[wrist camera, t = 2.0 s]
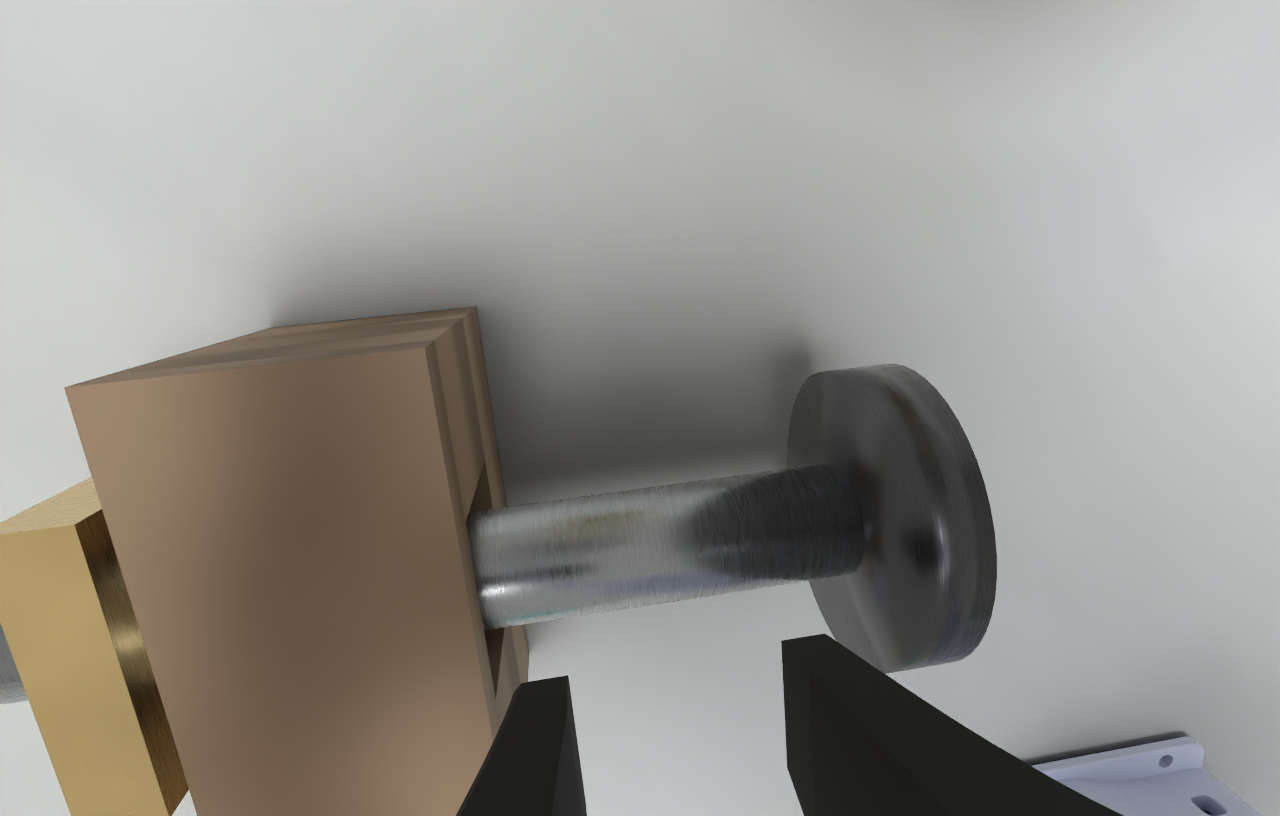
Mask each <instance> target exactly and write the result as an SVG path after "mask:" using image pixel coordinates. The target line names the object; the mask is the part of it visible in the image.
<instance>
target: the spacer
mask: <svg viewBox="0 0 1280 816" xmlns="http://www.w3.org/2000/svg"><path fill="white" fill-rule="evenodd" d="M0 623H1V626H2V629H3V631H4V634H5V637H6V640H7V642H8V645H9V648H10V650H11V653H12V656H13V659H14V661H15V664H16V667H17V670H18V672H19V675H20V678H21V680H22V683H23V686H24V689H25V691H26V694H27V697H28V699H29V702H30V705H31V708H32V710H33V713H34V716H35V719H36V721H37V724H38V727H39V729H40V732H41V735H42V738H43V740H44V743H45V746H46V748H47V751H48V754H49V757H50V759H51V762H52V765H53V767H54V770H55V773H56V776H57V778H58V781H59V784H60V787H61V789H62V792H63V795H64V797H65V800H66V803H67V806H68V808H69V811H70V814H71V816H172V814H173V813H174V811H175V810H176V808H177V807H178V805H179V804H180V802H181V801H182V799H183V798H184V796H185V795H186V793H187V792H188V790H189V787H188V783H187V780H186V777H185V774H184V771H183V767H182V764H181V761H180V758H179V755H178V751H177V748H176V745H175V742H174V738H173V735H172V732H171V729H170V726H169V722H168V719H167V716H166V713H165V710H164V706H163V703H162V700H161V697H160V693H159V690H158V687H157V684H156V681H155V677H154V674H153V671H152V668H151V665H150V661H149V658H148V655H147V652H146V648H145V645H144V642H143V639H142V636H141V632H140V629H139V626H138V623H137V620H136V616H135V613H134V610H133V607H132V604H131V600H130V597H129V594H128V591H127V587H126V584H125V581H124V578H123V575H122V571H121V568H120V565H119V562H118V559H117V555H116V552H115V549H114V546H113V542H112V539H111V536H110V533H109V530H108V526H107V523H106V520H105V517H104V514H103V510H102V507H101V504H100V501H99V498H98V494H97V491H96V488H95V485H94V481H93V478H92V477H91V478H89V479H87V480H85V481H83V482H81V483H79V484H77V485H75V486H73V487H71V488H69V489H67V490H65V491H63V492H61V493H59V494H57V495H55V496H53V497H51V498H49V499H47V500H45V501H43V502H41V503H39V504H37V505H35V506H33V507H31V508H29V509H27V510H25V511H23V512H21V513H19V514H17V515H15V516H13V517H11V518H9V519H7V520H5V521H3V522H1V523H0Z"/></svg>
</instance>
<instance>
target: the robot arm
mask: <svg viewBox="0 0 1280 816" xmlns="http://www.w3.org/2000/svg"><path fill="white" fill-rule="evenodd" d="M781 642H782V663H783V684H784V705H785V726H786V747H787V768H788V771H789V774H790V776H791V779H792V782H793V785H794V788H795V791H796V793H797V796H798V799H799V802H800V805H801V808H802V811H803V813H804V816H1262V815H1261V814H1259V813H1258V812H1257V811H1256V810H1254V809H1253V808H1252V807H1251V806H1249V805H1248V804H1247V803H1246V802H1244V801H1243V800H1242V799H1241V798H1239V797H1238V796H1237V795H1236V794H1234V793H1233V792H1232V791H1231V790H1229V789H1228V788H1227V787H1226V786H1224V785H1223V784H1222V783H1221V782H1219V781H1218V780H1217V779H1216V778H1214V777H1213V776H1212V775H1211V774H1209V773H1208V772H1207V771H1206V770H1204V769H1203V760H1204V748H1203V746H1202V745H1201V744H1200V743H1199V742H1197V741H1196V740H1195V739H1193V738H1191V737H1180V738H1175V739H1169V740H1164V741H1159V742H1154V743H1148V744H1143V745H1138V746H1133V747H1127V748H1122V749H1117V750H1111V751H1106V752H1101V753H1096V754H1090V755H1085V756H1080V757H1075V758H1069V759H1064V760H1059V761H1053V762H1048V763H1043V764H1038V765H1032V766H1030V765H1028V764H1027V763H1025V762H1023V761H1022V760H1020V759H1018V758H1016V757H1015V756H1013V755H1011V754H1009V753H1008V752H1006V751H1004V750H1003V749H1001V748H999V747H997V746H996V745H994V744H992V743H991V742H989V741H987V740H986V739H984V738H983V737H981V736H979V735H978V734H976V733H974V732H973V731H971V730H969V729H968V728H966V727H965V726H963V725H961V724H960V723H958V722H957V721H955V720H954V719H952V718H950V717H949V716H947V715H946V714H944V713H943V712H941V711H940V710H938V709H936V708H935V707H933V706H932V705H930V704H929V703H927V702H926V701H924V700H923V699H921V698H920V697H918V696H917V695H915V694H914V693H912V692H911V691H909V690H908V689H906V688H905V687H903V686H902V685H900V684H899V683H897V682H896V681H894V680H893V679H891V678H890V677H888V676H887V675H885V674H884V673H883V672H881V671H880V670H878V669H877V668H875V667H874V666H872V665H871V664H869V663H868V662H866V661H865V660H864V659H862V658H861V657H859V656H858V655H856V654H855V653H853V652H852V651H850V650H849V649H847V648H846V647H844V646H843V645H841V644H840V643H838V642H837V641H835V640H834V639H832V638H831V637H829V636H828V635H826V634H821V635H814V636H808V637H802V638H796V639H790V640H784V641H781ZM456 816H587V813H586V802H585V795H584V788H583V781H582V773H581V766H580V759H579V752H578V744H577V737H576V730H575V723H574V715H573V708H572V701H571V694H570V686H569V679H568V676H562V677H556V678H550V679H544V680H537V681H531V682H525V683H521V684H520V685H519V687H518V688H517V689H516V690H515V691H514V693H513V696H512V699H511V701H510V704H509V707H508V709H507V711H506V714H505V716H504V719H503V721H502V723H501V726H500V728H499V730H498V732H497V735H496V737H495V739H494V741H493V743H492V745H491V747H490V750H489V752H488V754H487V756H486V758H485V760H484V762H483V764H482V766H481V768H480V770H479V772H478V774H477V776H476V778H475V780H474V782H473V784H472V785H471V787H470V789H469V791H468V793H467V795H466V797H465V799H464V801H463V803H462V805H461V807H460V809H459V810H458V812H457V814H456Z"/></svg>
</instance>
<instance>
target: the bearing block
mask: <svg viewBox="0 0 1280 816" xmlns="http://www.w3.org/2000/svg"><path fill="white" fill-rule="evenodd" d="M65 391H66V395H67V398H68V401H69V404H70V408H71V411H72V414H73V417H74V420H75V424H76V427H77V430H78V433H79V436H80V440H81V443H82V446H83V449H84V453H85V456H86V459H87V462H88V465H89V469H90V472H91V475H92V478H93V481H94V485H95V488H96V491H97V494H98V498H99V501H100V504H101V507H102V510H103V514H104V517H105V520H106V523H107V526H108V530H109V533H110V536H111V539H112V542H113V546H114V549H115V552H116V555H117V559H118V562H119V565H120V568H121V571H122V575H123V578H124V581H125V584H126V587H127V591H128V594H129V597H130V600H131V604H132V607H133V610H134V613H135V616H136V620H137V623H138V626H139V629H140V632H141V636H142V639H143V642H144V645H145V648H146V652H147V655H148V658H149V661H150V665H151V668H152V671H153V674H154V677H155V681H156V684H157V687H158V690H159V693H160V697H161V700H162V703H163V706H164V710H165V713H166V716H167V719H168V722H169V726H170V729H171V732H172V735H173V738H174V742H175V745H176V748H177V751H178V755H179V758H180V761H181V764H182V767H183V771H184V774H185V777H186V780H187V783H188V787H189V790H190V793H191V796H192V799H193V803H194V806H195V809H196V812H197V816H456V814H457V812H458V810H459V809H460V807H461V805H462V803H463V801H464V799H465V797H466V795H467V793H468V791H469V789H470V787H471V785H472V784H473V782H474V780H475V778H476V776H477V774H478V772H479V770H480V768H481V766H482V764H483V762H484V760H485V758H486V756H487V754H488V752H489V750H490V747H491V745H492V743H493V741H494V739H495V737H496V735H497V732H498V730H499V728H500V726H501V723H502V721H503V719H504V716H505V714H506V711H507V709H508V707H509V704H510V701H511V699H512V696H513V693H514V691H515V690H516V689H517V688H518V687H519V685H520V684H521V683H525V682H528V665H529V649H528V643H527V636H526V630H525V624H524V625H517V626H511V627H504V628H498V629H491V630H485V631H484V628H483V622H482V616H481V610H480V604H479V598H478V592H477V587H476V581H475V575H474V569H473V563H472V557H471V551H470V545H469V539H468V534H467V528H466V519H467V516H468V513H469V512H473V511H480V510H488V509H495V508H502V507H507V505H506V499H505V492H504V485H503V479H502V472H501V466H500V459H499V453H498V446H497V440H496V433H495V426H494V420H493V413H492V407H491V400H490V394H489V387H488V381H487V374H486V368H485V361H484V354H483V348H482V341H481V335H480V328H479V322H478V315H477V309H476V307H467V308H458V309H448V310H438V311H429V312H419V313H410V314H400V315H391V316H381V317H372V318H362V319H353V320H343V321H333V322H324V323H314V324H305V325H295V326H286V327H276V328H269V329H265V330H262V331H258V332H255V333H251V334H248V335H244V336H241V337H237V338H234V339H230V340H227V341H224V342H220V343H217V344H213V345H210V346H206V347H203V348H199V349H196V350H192V351H189V352H186V353H182V354H179V355H175V356H172V357H168V358H165V359H161V360H158V361H154V362H151V363H148V364H144V365H141V366H137V367H134V368H130V369H127V370H123V371H120V372H116V373H113V374H109V375H106V376H103V377H99V378H96V379H92V380H89V381H85V382H82V383H78V384H75V385H71V386H68V387H65Z"/></svg>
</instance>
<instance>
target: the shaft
mask: <svg viewBox="0 0 1280 816" xmlns="http://www.w3.org/2000/svg"><path fill="white" fill-rule="evenodd" d="M466 528H467V534H468V539H469V545H470V551H471V557H472V563H473V569H474V575H475V581H476V587H477V592H478V598H479V604H480V610H481V616H482V622H483V628H484V631H485V630H491V629H498V628H504V627H511V626H517V625H524V624H530V623H537V622H543V621H550V620H556V619H563V618H569V617H576V616H582V615H589V614H595V613H602V612H608V611H615V610H621V609H628V608H634V607H641V606H647V605H654V604H660V603H667V602H673V601H680V600H686V599H693V598H699V597H706V596H712V595H719V594H725V593H732V592H738V591H745V590H751V589H758V588H764V587H771V586H777V585H784V584H791V583H797V582H804V581H809V583H810V585H811V588H812V591H813V594H814V596H815V599H816V601H817V603H818V606H819V608H820V611H821V613H822V615H823V617H824V619H825V621H826V623H827V625H828V627H829V628H830V630H831V632H832V634H833V636H834V637H835V639H836V640H837V642H838V643H840V644H841V645H843V646H844V647H846V648H847V649H849V650H850V651H852V652H853V653H855V654H856V655H858V656H859V657H861V658H862V659H864V660H865V661H866V662H868V663H869V664H871V665H872V666H874V667H875V668H877V669H878V670H880V671H881V672H883V673H884V674H886V673H892V672H898V671H904V670H910V669H916V668H922V667H927V666H933V665H939V664H945V663H951V662H955V661H958V660H962V659H963V658H965V657H966V656H968V655H970V654H971V653H972V652H973V651H974V649H975V648H976V647H977V646H978V645H979V643H980V642H981V640H982V638H983V636H984V634H985V633H986V630H987V627H988V624H989V621H990V619H991V615H992V610H993V605H994V600H995V591H996V580H997V554H996V543H995V532H994V526H993V520H992V514H991V508H990V504H989V500H988V496H987V492H986V488H985V484H984V481H983V478H982V475H981V472H980V469H979V466H978V463H977V460H976V457H975V455H974V452H973V450H972V448H971V445H970V443H969V441H968V438H967V436H966V434H965V432H964V431H963V429H962V427H961V425H960V423H959V421H958V419H957V418H956V416H955V414H954V413H953V411H952V410H951V408H950V407H949V405H948V403H947V402H946V401H945V400H944V398H943V397H942V396H941V395H940V393H939V392H938V391H937V390H936V389H935V388H934V387H933V386H932V385H931V384H930V383H929V382H928V381H927V380H926V379H925V378H924V377H922V376H921V375H920V374H918V373H917V372H915V371H914V370H912V369H909V368H907V367H905V366H902V365H897V364H883V365H875V366H867V367H858V368H850V369H842V370H834V371H825V372H819V373H816V374H814V375H812V376H811V377H810V378H808V379H807V380H806V382H805V383H804V384H803V386H802V387H801V389H800V391H799V393H798V395H797V398H796V401H795V404H794V407H793V411H792V416H791V421H790V428H789V438H788V469H783V470H775V471H768V472H761V473H753V474H746V475H739V476H731V477H724V478H716V479H709V480H702V481H694V482H687V483H680V484H672V485H665V486H657V487H650V488H643V489H635V490H628V491H620V492H613V493H606V494H598V495H591V496H584V497H576V498H569V499H561V500H554V501H547V502H539V503H532V504H524V505H517V506H510V507H502V508H495V509H488V510H480V511H473V512H469V513H468V516H467V519H466ZM22 701H29V699H28V697H27V694H26V691H25V689H24V686H23V683H22V680H21V678H20V675H19V672H18V670H17V667H16V664H15V661H14V659H13V656H12V653H11V650H10V648H9V645H8V642H7V640H6V637H5V634H4V631H3V629H2V626H1V623H0V704H8V703H16V702H22Z"/></svg>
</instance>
